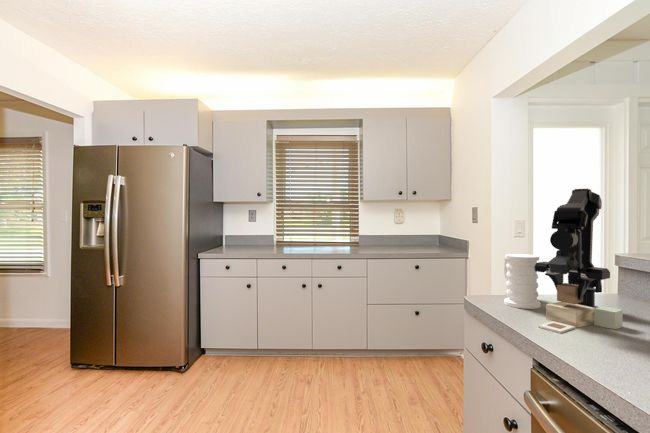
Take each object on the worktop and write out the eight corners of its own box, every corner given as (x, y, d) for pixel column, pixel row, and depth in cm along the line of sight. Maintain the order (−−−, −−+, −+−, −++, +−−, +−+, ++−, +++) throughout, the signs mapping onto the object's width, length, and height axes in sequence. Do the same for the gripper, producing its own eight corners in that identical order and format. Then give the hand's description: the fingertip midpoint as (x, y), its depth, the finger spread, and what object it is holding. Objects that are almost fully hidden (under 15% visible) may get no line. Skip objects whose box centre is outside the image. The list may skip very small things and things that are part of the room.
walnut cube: (565, 298, 112) (565, 282, 112) (583, 301, 108) (583, 285, 108) (556, 300, 110) (556, 284, 110) (574, 304, 105) (574, 287, 105)
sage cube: (602, 322, 108) (602, 306, 108) (622, 326, 104) (622, 309, 104) (594, 325, 105) (594, 308, 105) (615, 329, 101) (614, 312, 101)
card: (552, 322, 107) (552, 320, 107) (574, 328, 102) (574, 326, 102) (538, 327, 103) (538, 325, 103) (560, 333, 98) (560, 331, 98)
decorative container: (507, 299, 137) (506, 253, 137) (542, 303, 130) (541, 254, 130) (501, 305, 127) (501, 256, 127) (539, 310, 121) (538, 258, 120)
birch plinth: (564, 316, 115) (564, 301, 115) (595, 324, 106) (595, 307, 106) (546, 320, 111) (546, 304, 111) (575, 328, 103) (575, 311, 103)
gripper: (524, 246, 113) (524, 295, 113) (592, 252, 96) (592, 308, 97) (543, 244, 118) (543, 291, 118) (610, 249, 102) (610, 303, 102)
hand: (570, 297), depth 109 cm, fingers closed on walnut cube, 5 cm apart
